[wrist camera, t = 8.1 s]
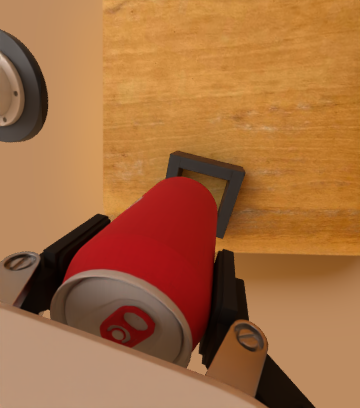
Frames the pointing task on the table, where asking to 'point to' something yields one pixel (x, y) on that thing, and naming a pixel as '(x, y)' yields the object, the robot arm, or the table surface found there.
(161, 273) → the beverage can
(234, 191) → the frame
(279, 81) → the table surface
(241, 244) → the table surface
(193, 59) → the table surface
